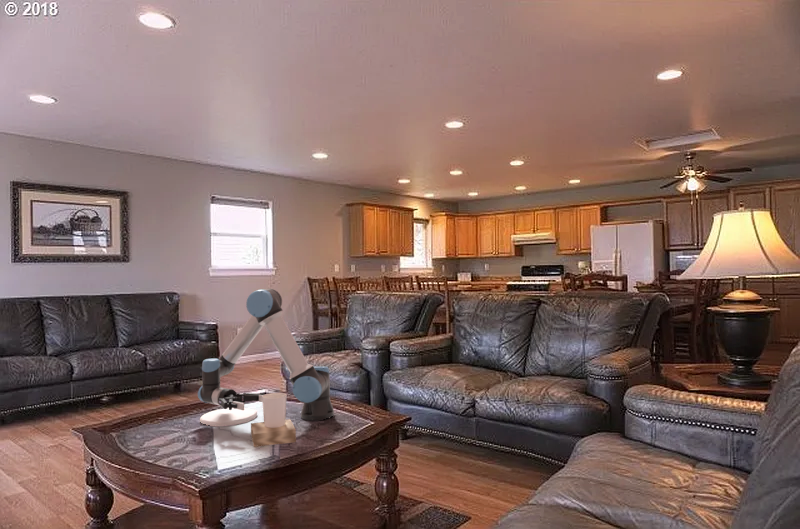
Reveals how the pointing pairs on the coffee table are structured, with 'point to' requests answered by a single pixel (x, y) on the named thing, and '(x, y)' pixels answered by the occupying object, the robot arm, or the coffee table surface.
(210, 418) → the decorative plate
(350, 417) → the coffee table surface
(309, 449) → the coffee table surface
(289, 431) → the maple riser
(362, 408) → the coffee table surface
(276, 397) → the candle holder
